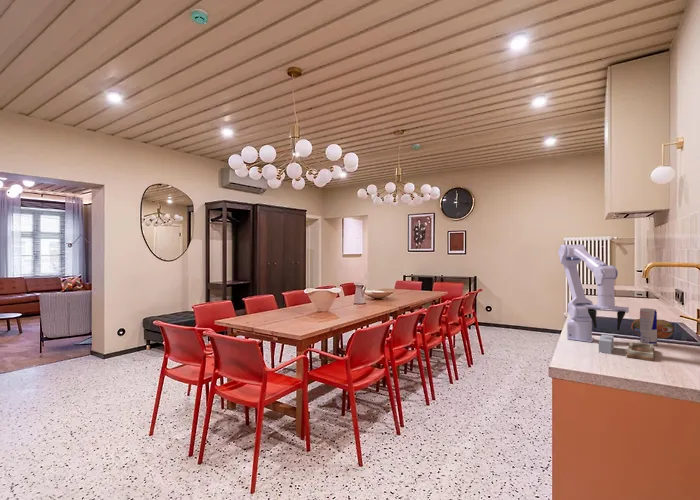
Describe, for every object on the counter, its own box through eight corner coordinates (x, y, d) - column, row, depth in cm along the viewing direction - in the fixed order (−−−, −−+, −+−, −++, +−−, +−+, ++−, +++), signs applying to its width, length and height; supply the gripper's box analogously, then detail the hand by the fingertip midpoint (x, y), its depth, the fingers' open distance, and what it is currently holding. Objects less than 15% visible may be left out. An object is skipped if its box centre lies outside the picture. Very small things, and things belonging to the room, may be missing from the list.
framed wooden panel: (626, 357, 138) (626, 350, 138) (629, 347, 151) (629, 341, 151) (654, 361, 132) (654, 354, 132) (654, 350, 146) (654, 344, 146)
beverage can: (657, 346, 152) (657, 310, 152) (640, 344, 155) (640, 309, 155) (656, 343, 156) (656, 308, 156) (639, 341, 160) (639, 307, 160)
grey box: (598, 352, 145) (598, 340, 145) (601, 346, 154) (601, 334, 154) (611, 354, 142) (610, 341, 142) (613, 347, 152) (613, 335, 151)
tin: (632, 336, 170) (632, 318, 169) (630, 334, 172) (630, 317, 172) (674, 339, 162) (674, 320, 162) (672, 338, 165) (671, 319, 165)
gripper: (583, 295, 150) (584, 328, 150) (627, 297, 141) (628, 332, 140) (585, 293, 155) (586, 325, 155) (628, 295, 146) (629, 329, 146)
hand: (606, 328), depth 148 cm, fingers open, 7 cm apart
